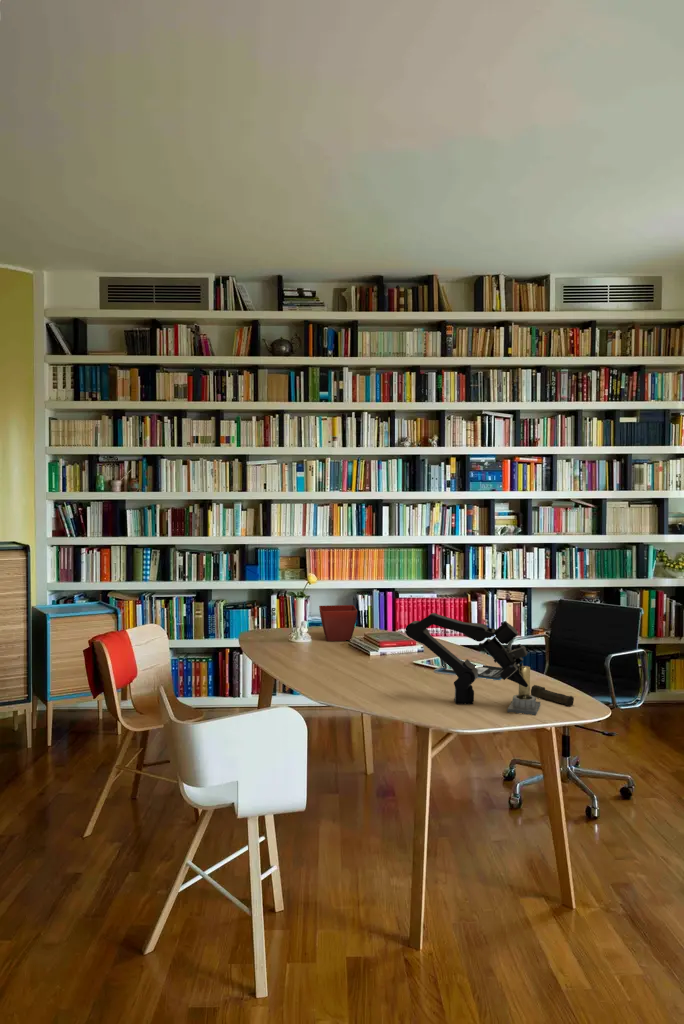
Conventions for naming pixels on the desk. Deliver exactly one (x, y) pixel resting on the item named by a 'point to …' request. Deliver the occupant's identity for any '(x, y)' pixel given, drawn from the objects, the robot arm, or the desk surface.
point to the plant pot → (338, 621)
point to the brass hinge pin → (525, 672)
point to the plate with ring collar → (524, 705)
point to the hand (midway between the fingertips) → (528, 685)
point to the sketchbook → (483, 672)
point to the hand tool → (551, 695)
